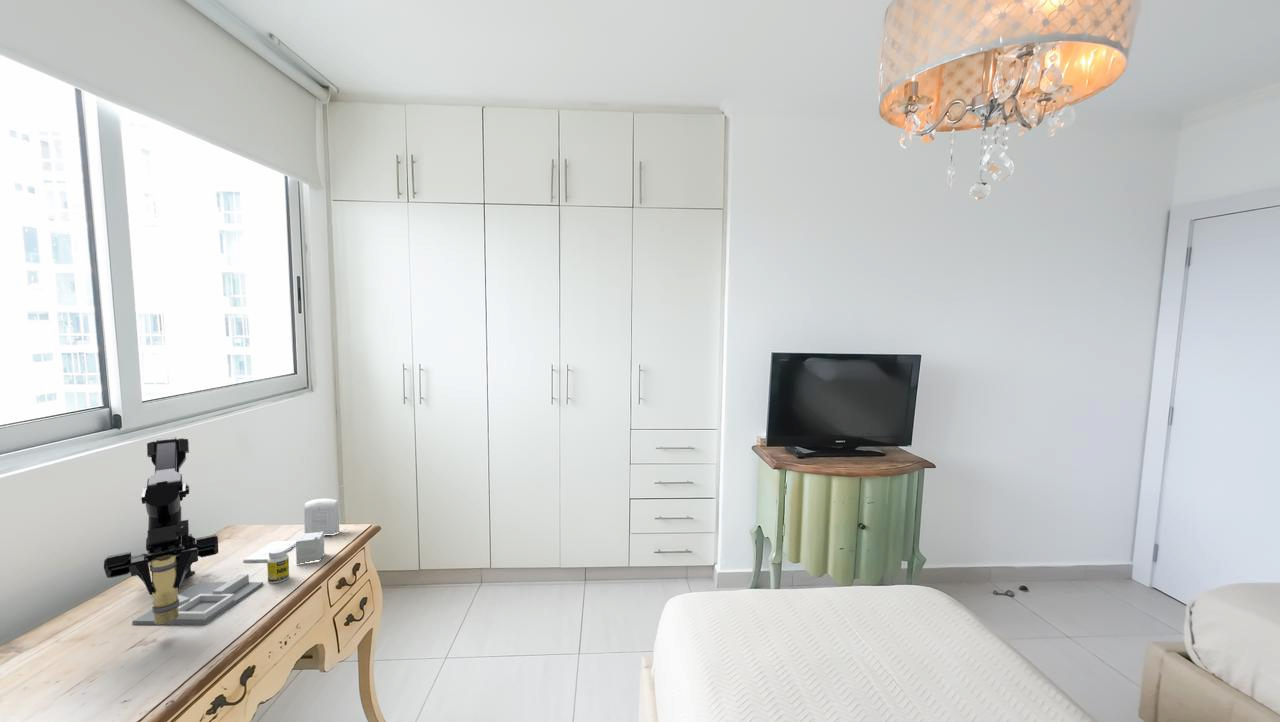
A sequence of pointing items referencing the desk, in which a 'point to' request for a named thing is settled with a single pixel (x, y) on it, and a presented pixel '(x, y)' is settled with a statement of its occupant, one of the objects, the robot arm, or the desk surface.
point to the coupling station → (207, 601)
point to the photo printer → (321, 516)
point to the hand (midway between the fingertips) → (164, 590)
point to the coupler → (164, 589)
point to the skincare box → (309, 547)
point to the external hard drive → (264, 552)
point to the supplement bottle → (278, 565)
